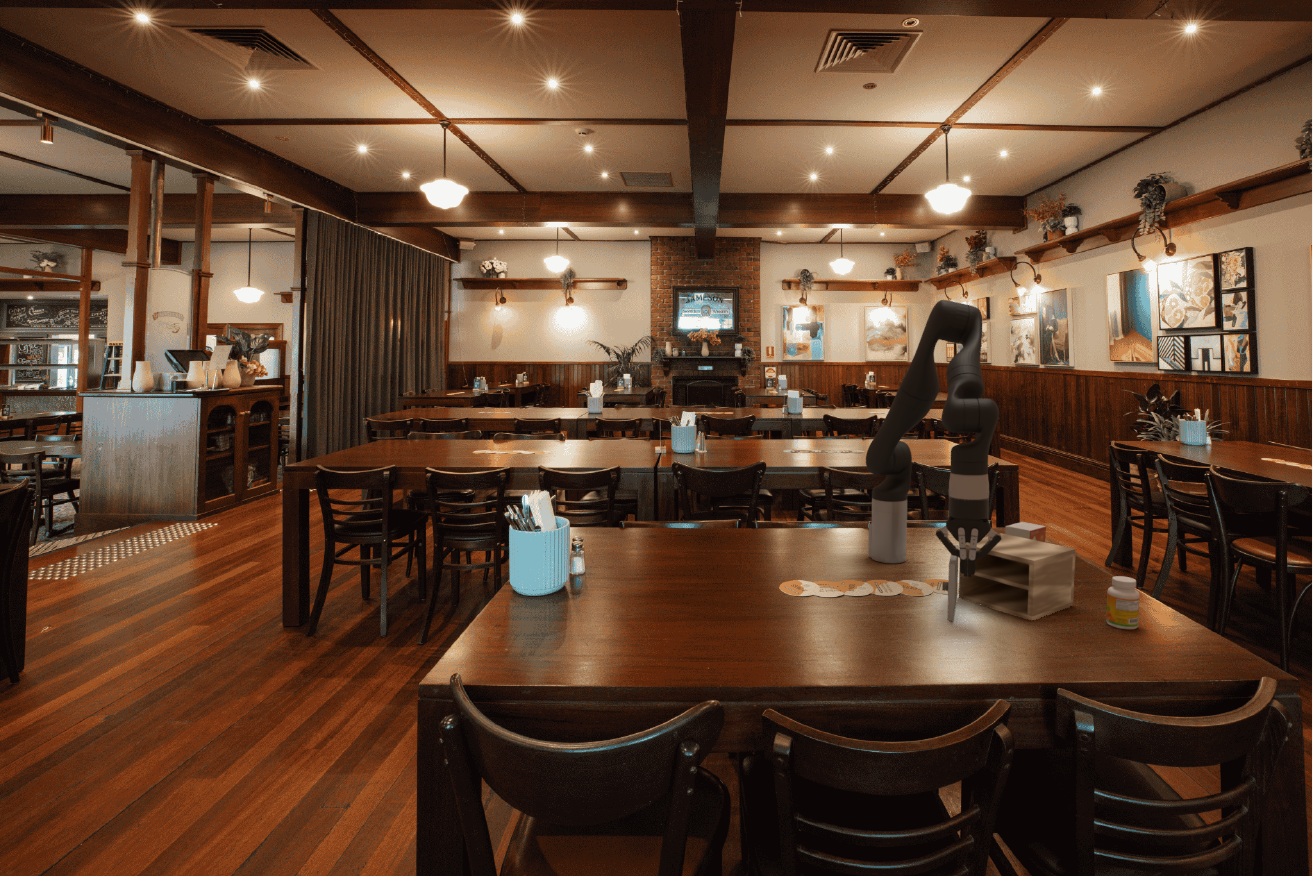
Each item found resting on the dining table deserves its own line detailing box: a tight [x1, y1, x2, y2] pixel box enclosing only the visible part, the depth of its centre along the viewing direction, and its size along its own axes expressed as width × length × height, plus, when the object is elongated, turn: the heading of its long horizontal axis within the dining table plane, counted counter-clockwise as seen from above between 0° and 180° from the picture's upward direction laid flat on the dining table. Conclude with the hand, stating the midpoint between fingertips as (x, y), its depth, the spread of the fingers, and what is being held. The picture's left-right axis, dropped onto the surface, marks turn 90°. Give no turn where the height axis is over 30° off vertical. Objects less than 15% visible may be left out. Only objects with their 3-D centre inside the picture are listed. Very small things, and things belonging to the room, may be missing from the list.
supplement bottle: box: [1105, 575, 1141, 630], centre depth 134 cm, size 5×5×10 cm
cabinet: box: [958, 532, 1077, 621], centre depth 148 cm, size 17×16×13 cm
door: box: [941, 544, 960, 621], centre depth 144 cm, size 16×2×12 cm, turn 153°
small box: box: [1004, 521, 1047, 543], centre depth 166 cm, size 8×6×13 cm
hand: (967, 575), depth 138 cm, fingers closed
